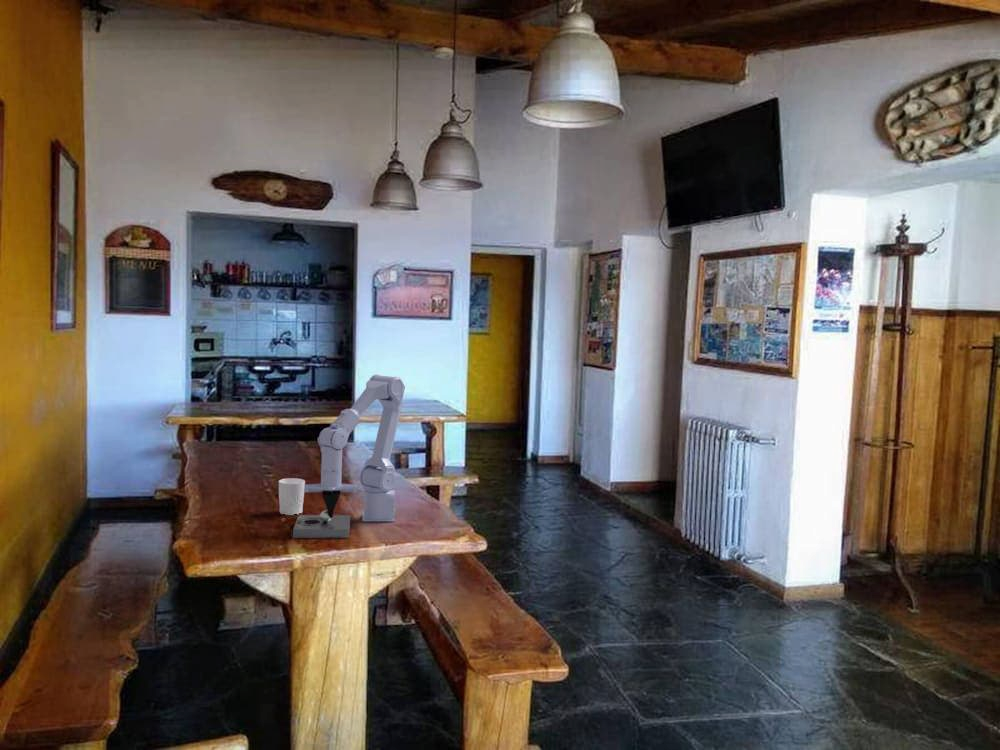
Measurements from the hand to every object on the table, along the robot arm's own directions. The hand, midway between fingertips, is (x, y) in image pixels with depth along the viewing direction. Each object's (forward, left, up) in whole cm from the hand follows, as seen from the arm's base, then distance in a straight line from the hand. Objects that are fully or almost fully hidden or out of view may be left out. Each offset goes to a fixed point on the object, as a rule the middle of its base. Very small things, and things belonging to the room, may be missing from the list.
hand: (330, 517), depth 215 cm
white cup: (+13, -20, -4) cm, 25 cm away
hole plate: (+2, 0, -4) cm, 4 cm away
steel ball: (+1, 0, 0) cm, 1 cm away
